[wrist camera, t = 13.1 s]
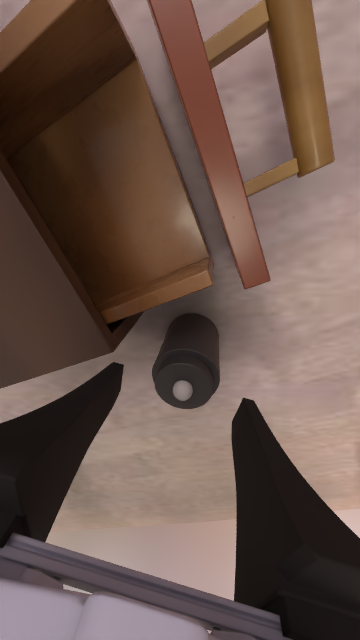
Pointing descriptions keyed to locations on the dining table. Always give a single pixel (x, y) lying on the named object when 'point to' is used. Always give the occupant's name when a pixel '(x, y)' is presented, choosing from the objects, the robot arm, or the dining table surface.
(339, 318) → the dining table surface
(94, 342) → the cabinet
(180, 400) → the pepper mill
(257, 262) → the drawer
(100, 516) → the dining table surface
